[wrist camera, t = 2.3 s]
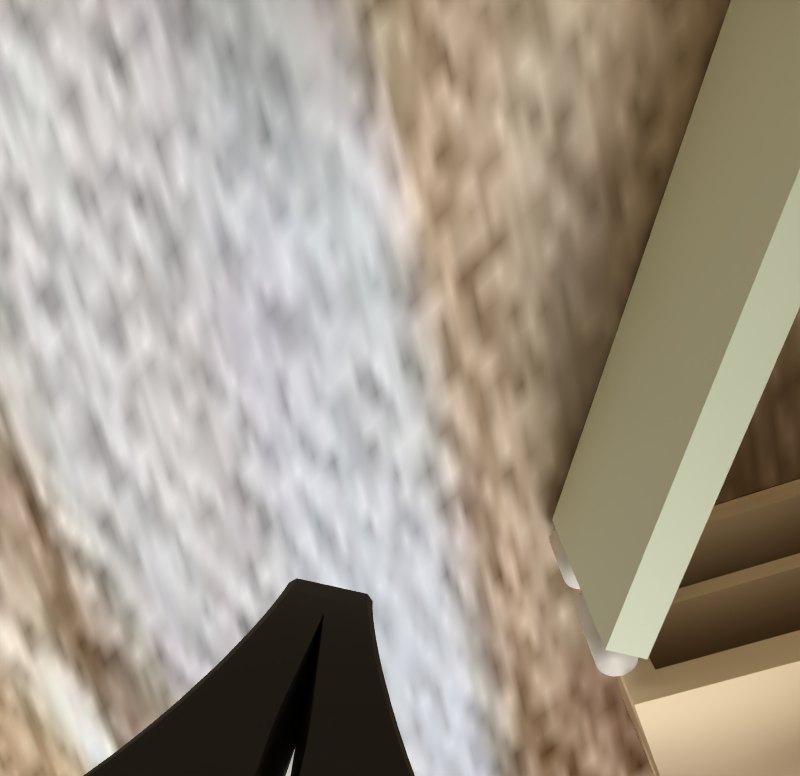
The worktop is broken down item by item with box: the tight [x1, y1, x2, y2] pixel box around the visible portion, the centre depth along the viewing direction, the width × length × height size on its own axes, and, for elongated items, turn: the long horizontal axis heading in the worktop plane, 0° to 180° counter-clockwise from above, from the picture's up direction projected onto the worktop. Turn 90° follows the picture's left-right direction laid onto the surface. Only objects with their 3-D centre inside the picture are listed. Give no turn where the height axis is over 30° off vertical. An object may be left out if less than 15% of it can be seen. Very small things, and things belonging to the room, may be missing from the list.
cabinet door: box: [550, 0, 800, 676], centre depth 13 cm, size 2×20×6 cm, turn 167°
